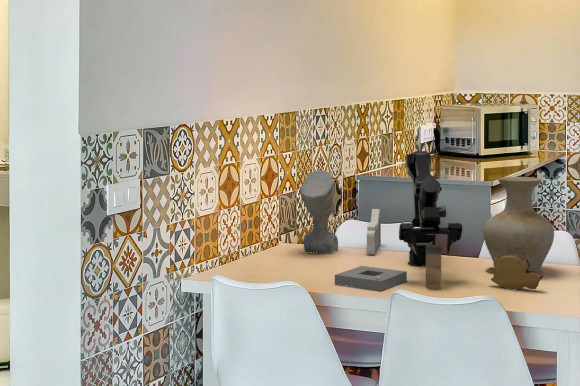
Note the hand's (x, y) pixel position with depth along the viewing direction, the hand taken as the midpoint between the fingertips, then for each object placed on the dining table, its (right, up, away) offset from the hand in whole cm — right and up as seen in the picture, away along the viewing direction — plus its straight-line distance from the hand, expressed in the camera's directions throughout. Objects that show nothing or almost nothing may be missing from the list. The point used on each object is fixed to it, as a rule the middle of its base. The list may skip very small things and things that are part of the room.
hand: (432, 254), depth 250 cm
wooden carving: (+23, -10, -3) cm, 26 cm away
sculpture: (-32, -4, +55) cm, 64 cm away
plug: (0, -10, -1) cm, 10 cm away
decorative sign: (-12, -3, +59) cm, 61 cm away
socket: (-18, -9, +6) cm, 21 cm away
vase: (+31, -7, +20) cm, 37 cm away
